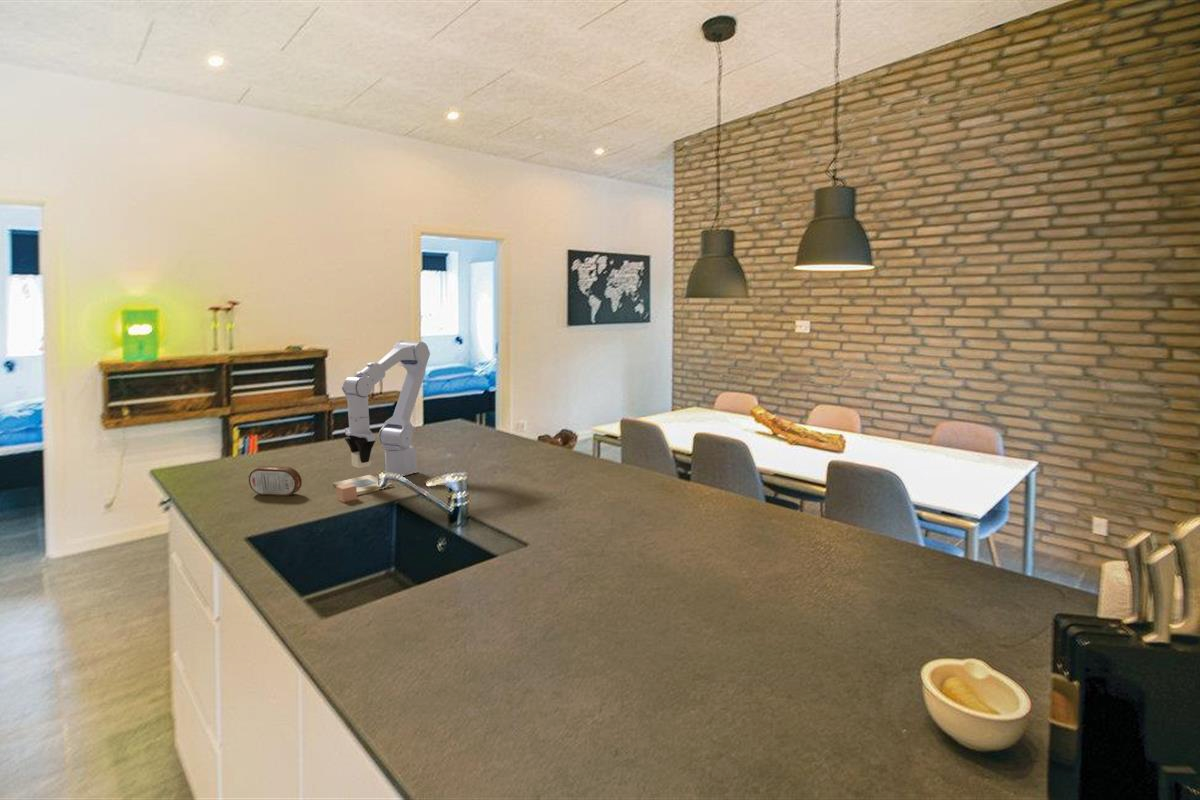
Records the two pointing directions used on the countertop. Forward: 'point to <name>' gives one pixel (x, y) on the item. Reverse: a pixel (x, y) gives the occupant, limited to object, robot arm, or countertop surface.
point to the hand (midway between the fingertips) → (361, 460)
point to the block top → (346, 492)
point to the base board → (363, 484)
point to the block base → (357, 462)
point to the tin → (275, 480)
